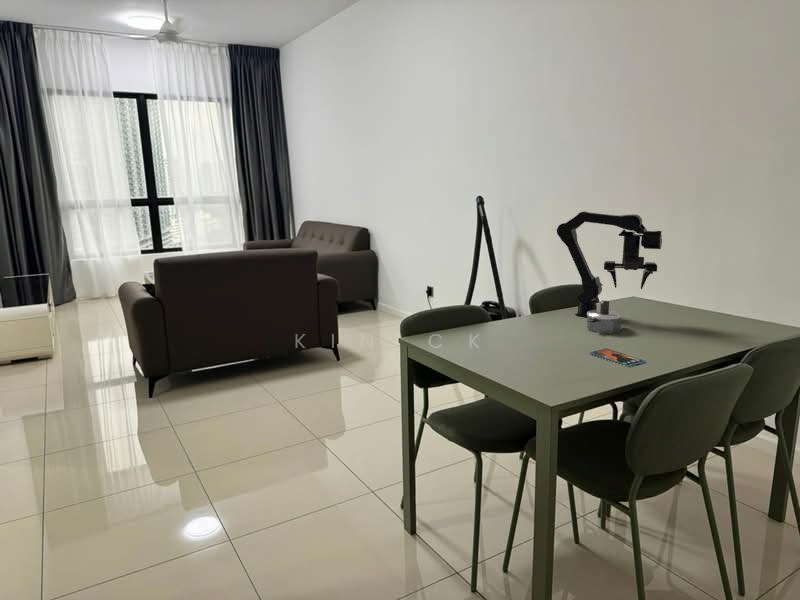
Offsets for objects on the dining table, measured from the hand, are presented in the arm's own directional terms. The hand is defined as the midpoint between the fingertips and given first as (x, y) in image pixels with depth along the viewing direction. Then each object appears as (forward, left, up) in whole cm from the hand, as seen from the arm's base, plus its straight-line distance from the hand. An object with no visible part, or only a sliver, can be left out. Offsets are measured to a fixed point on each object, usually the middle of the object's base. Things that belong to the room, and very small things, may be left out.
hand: (628, 288), depth 216 cm
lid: (+3, -19, -8) cm, 21 cm away
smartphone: (+26, -45, -13) cm, 54 cm away
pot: (+3, -19, -12) cm, 23 cm away
